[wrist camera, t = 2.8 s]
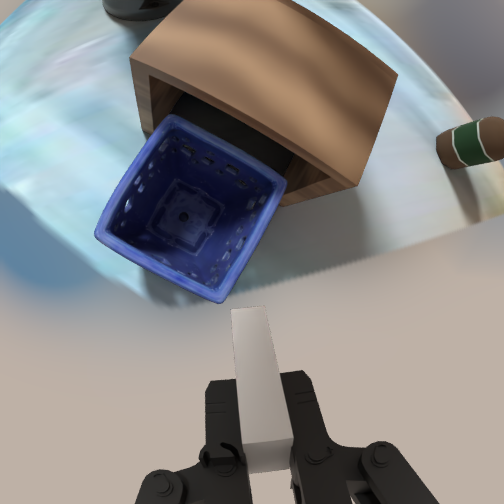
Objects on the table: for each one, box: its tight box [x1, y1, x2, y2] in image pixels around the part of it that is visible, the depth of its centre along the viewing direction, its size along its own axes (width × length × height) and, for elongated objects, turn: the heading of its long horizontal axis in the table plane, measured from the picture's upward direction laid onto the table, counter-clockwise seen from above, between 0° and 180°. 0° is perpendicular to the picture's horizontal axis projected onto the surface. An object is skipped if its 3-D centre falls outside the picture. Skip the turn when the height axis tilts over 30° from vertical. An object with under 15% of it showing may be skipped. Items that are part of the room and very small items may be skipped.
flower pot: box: [94, 114, 287, 304], centre depth 31 cm, size 13×13×12 cm
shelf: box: [129, 0, 398, 207], centre depth 30 cm, size 14×21×17 cm
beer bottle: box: [436, 117, 504, 169], centre depth 37 cm, size 8×8×24 cm
